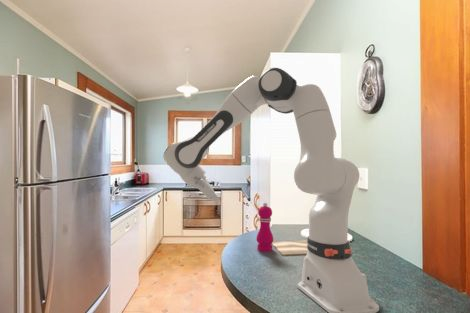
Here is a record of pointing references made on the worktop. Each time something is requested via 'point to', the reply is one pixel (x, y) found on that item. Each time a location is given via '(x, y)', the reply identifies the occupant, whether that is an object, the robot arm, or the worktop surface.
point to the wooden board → (291, 247)
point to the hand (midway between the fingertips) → (218, 200)
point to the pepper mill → (265, 229)
